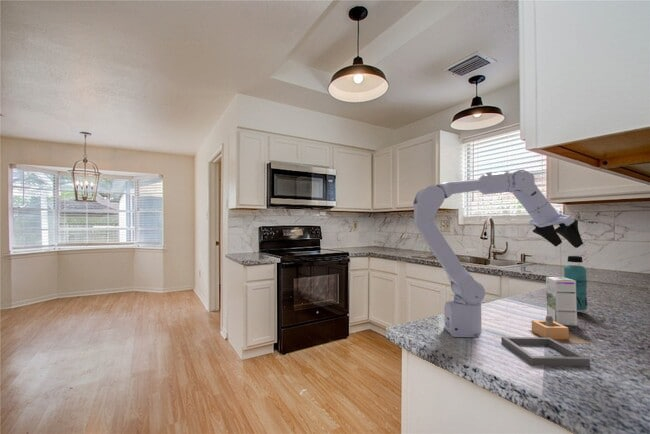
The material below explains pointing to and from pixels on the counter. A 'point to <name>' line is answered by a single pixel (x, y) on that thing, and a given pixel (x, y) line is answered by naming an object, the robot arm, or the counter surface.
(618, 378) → the counter surface
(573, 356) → the tray
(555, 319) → the syrup box
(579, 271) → the beverage bottle
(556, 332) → the ring
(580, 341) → the stake board
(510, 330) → the counter surface
